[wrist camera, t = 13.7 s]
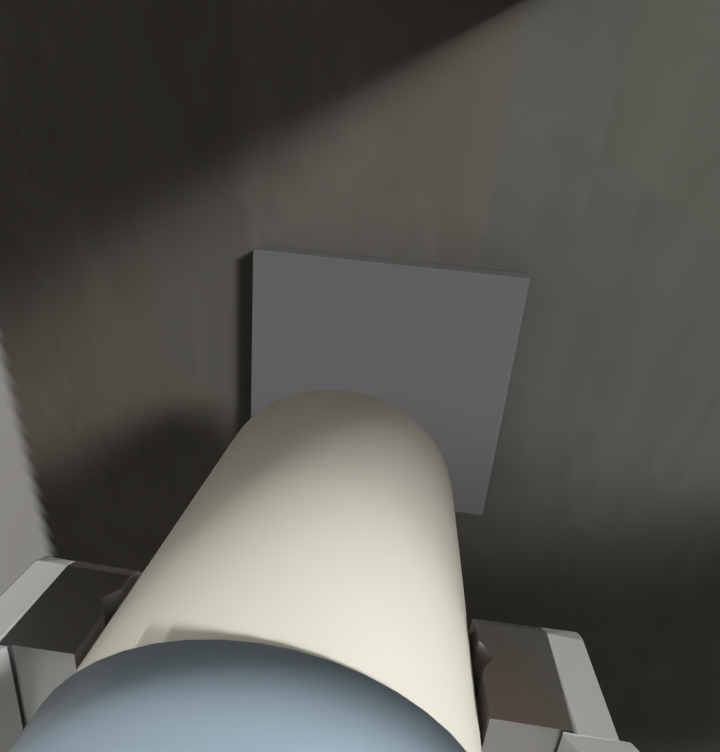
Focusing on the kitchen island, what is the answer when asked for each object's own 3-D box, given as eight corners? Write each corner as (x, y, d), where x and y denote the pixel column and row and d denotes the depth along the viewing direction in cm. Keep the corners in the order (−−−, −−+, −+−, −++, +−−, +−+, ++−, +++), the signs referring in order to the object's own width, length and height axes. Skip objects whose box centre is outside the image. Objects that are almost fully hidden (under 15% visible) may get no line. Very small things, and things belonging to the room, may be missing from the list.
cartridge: (475, 401, 11) (616, 943, 3) (438, 607, 12) (472, 1250, 5) (217, 371, 11) (-209, 799, 3) (218, 576, 13) (-57, 1139, 5)
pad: (525, 273, 16) (530, 278, 15) (480, 501, 19) (482, 515, 18) (261, 245, 17) (252, 249, 16) (256, 471, 20) (249, 483, 19)
